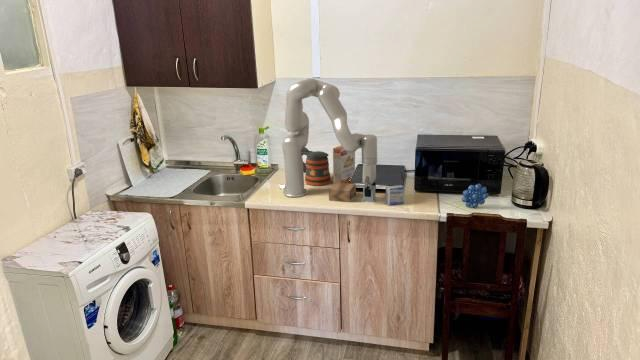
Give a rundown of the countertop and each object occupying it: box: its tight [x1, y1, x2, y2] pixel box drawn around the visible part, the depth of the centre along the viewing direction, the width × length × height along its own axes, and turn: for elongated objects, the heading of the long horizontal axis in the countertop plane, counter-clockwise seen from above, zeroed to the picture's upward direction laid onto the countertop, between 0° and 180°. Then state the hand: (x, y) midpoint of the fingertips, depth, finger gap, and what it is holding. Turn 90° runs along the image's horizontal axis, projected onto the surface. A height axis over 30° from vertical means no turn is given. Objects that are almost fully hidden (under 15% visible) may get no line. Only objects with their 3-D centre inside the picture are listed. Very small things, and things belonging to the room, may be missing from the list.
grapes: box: [461, 183, 489, 209], centre depth 221 cm, size 12×7×12 cm, turn 74°
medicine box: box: [385, 184, 405, 206], centre depth 230 cm, size 8×4×9 cm, turn 105°
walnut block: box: [328, 182, 357, 203], centre depth 240 cm, size 11×11×6 cm
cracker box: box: [332, 145, 356, 185], centre depth 261 cm, size 14×6×21 cm, turn 143°
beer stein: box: [301, 146, 332, 187], centre depth 264 cm, size 19×15×20 cm
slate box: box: [362, 185, 376, 203], centre depth 235 cm, size 5×5×7 cm
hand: (370, 193), depth 235 cm, fingers open, 9 cm apart
